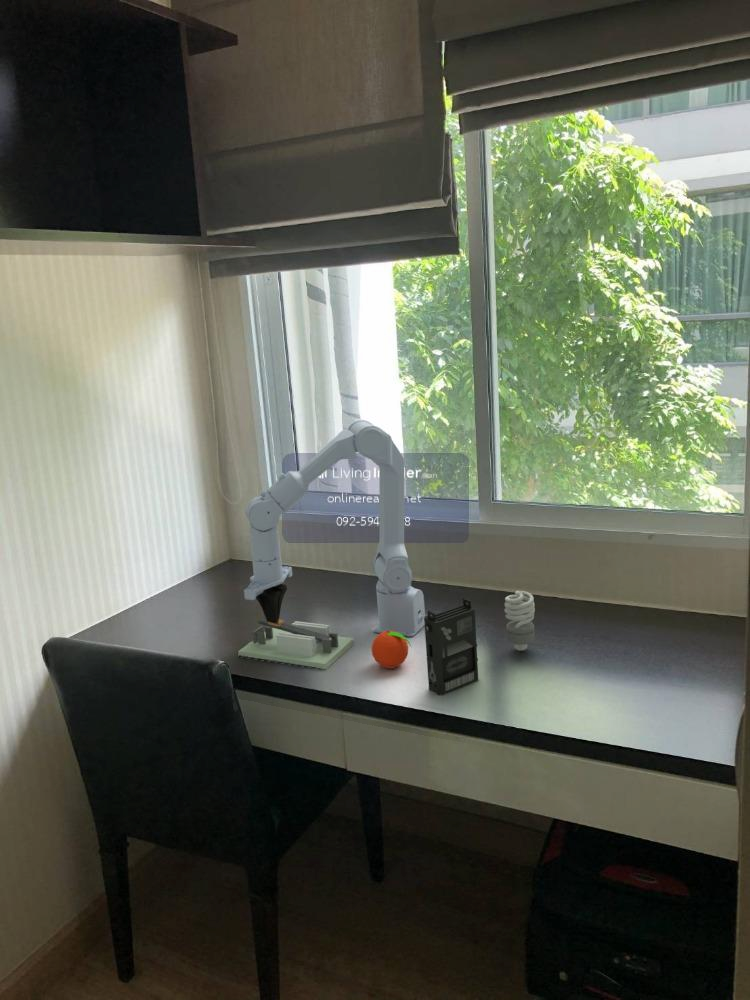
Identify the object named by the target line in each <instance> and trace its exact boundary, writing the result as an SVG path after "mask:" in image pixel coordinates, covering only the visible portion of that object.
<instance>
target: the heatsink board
mask: <svg viewBox="0 0 750 1000" xmlns="http://www.w3.org/2000/svg"><path fill="white" fill-rule="evenodd" d="M291 625H292V626H295V627H299V628H302V629H306V630H309V631H313V632H317V633H320V634H324V635H327V636H333V637H334V640H333V641H332V642H330V639H324V638H323V639H322V642H321V641H318V640H315V637H312V636H305V635H297V634H293V633H290V632H286V631H283V630H280V629H276V628H273V627H269V626H266V625H260V626H259V627H257V628H255V630H252V632H251V634H252V641H250V642H249V643H247V644H246V645H245V646H243V647H242V648H240V649H239V650H238V651H237V652H238V656H239V655H242V656H243V655H244V656H248V657H254V658H261V659H269V660H276V661H282V662H289V663H295V664H301V665H306V666H312V667H317V668H316V669H318V668H322V669H321V670H324V669H326V670H327V669H329V667H330V666H331V665H333V664H334V663H335V662H336V661H337V660H338V659H339V658H340V657H342V655H344V654H345V653H346V652H347V651H348V650H349V649H350V648H352V646H353V645H354V644H355V638H353V637H345V636H338V633H336V632H331V627H330V625H329V624H322V623H313V622H305V621H298V620H294V621H293V623H291Z"/></svg>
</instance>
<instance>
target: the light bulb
mask: <svg viewBox="0 0 750 1000" xmlns="http://www.w3.org/2000/svg"><path fill="white" fill-rule="evenodd" d="M504 601H505V602H504V607H505V608H504V613H505V618H506V619H508V620H510V621H509V622H508V623H507V624H506V626H505V627H506V628H505V632H506V637H507V638H506V639H507V640H508V642H509V643H511V644H513V647H514V648H515V650H517V651H519V652H523V651H525V650H526V649H527V648H528V644H530V643H533V642H534V640H535V634H536V633H535V632H536V631H535V630H536V629H535V625H534V623H533V622H532V621H533V620H534V618H535V611H536V608H535V602H534V601H535V600H534V595H532V594H531V593H530V592H527V591H525V590H516V591H515V592H514V594H510V595H507V596H506V597H505V598H504Z"/></svg>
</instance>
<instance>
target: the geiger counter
mask: <svg viewBox="0 0 750 1000" xmlns="http://www.w3.org/2000/svg"><path fill="white" fill-rule="evenodd" d="M462 601H463V602H462V603H460V604H458V606H455V607H452V608H450V609H446V610H443V611H441V612H438V613H435V612H433V611H431V610H426V611H427V613H426V614H427V615H425V617H424V623H425V625H424V633H425V634H424V636H425V638H424V639H425V650H426V663H427V664H426V665H427V679H428V690H429V691H430V692H432V693H433V694H435V695H437V696H444V695H447V694H450V693H452V692H454V691H456V690H459V689H461V688H464V687H466V686H468V685H471V684H473V683H475V682H479V667H478V665H479V664H478V660H479V658H478V649H477V648H478V643H477V627H476V623H477V622H476V608H475V607H472V603H471V600H470V599H467V598H465V597H464V598H463V599H462Z"/></svg>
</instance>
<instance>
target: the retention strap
mask: <svg viewBox="0 0 750 1000" xmlns="http://www.w3.org/2000/svg"><path fill="white" fill-rule="evenodd" d="M284 622H285V621H284V620H283V619H281V618H279V620H278V621H277V622H276V623H273V622H269V621H268V622H267V620H266V617H262V618H261V619H259V620H258V624H259V625H261V626H265V627H266V626H268V627H272V628H276V629H280V630H283V631H286V632H290V633H293V634H297V635H305V636H312V637H315V640H318V641H321V642H322V639H323V638H324V639H330V642H332V641H333V640H334V637H333V636H327V635H324V634H320V633H317V632H313V631H309V630H306V629H302V628H299V627H295V626H292V624H288V623H284Z"/></svg>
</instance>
